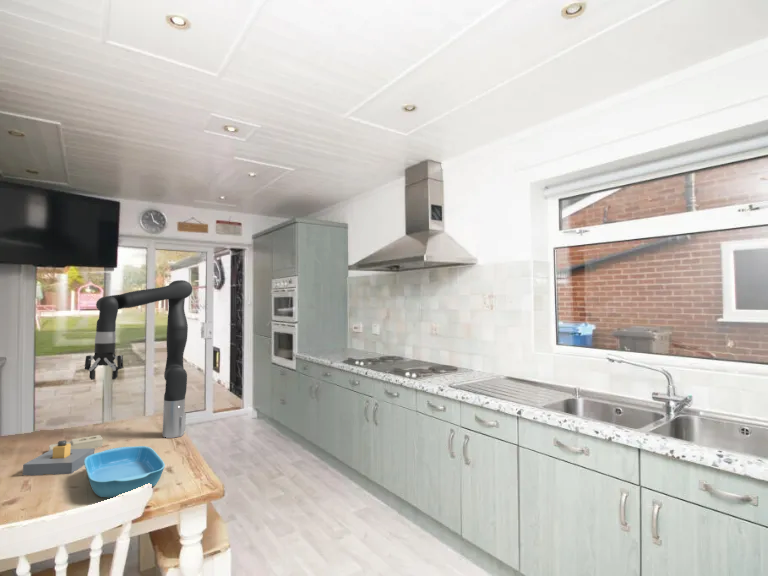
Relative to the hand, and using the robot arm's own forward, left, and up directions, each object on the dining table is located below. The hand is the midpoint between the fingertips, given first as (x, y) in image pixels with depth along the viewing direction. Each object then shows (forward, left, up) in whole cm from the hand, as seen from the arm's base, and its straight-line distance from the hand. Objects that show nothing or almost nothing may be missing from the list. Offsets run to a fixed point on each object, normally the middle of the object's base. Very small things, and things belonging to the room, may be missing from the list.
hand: (103, 379), depth 181 cm
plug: (+5, +19, -29) cm, 35 cm away
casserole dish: (-24, +36, -31) cm, 53 cm away
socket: (+5, +19, -30) cm, 36 cm away
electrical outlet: (+10, -2, -31) cm, 32 cm away
